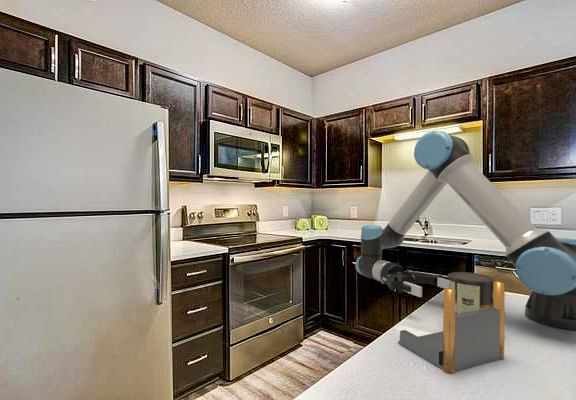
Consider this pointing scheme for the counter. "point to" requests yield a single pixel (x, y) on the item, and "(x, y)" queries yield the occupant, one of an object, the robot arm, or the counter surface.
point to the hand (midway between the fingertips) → (439, 289)
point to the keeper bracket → (463, 335)
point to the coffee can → (471, 291)
